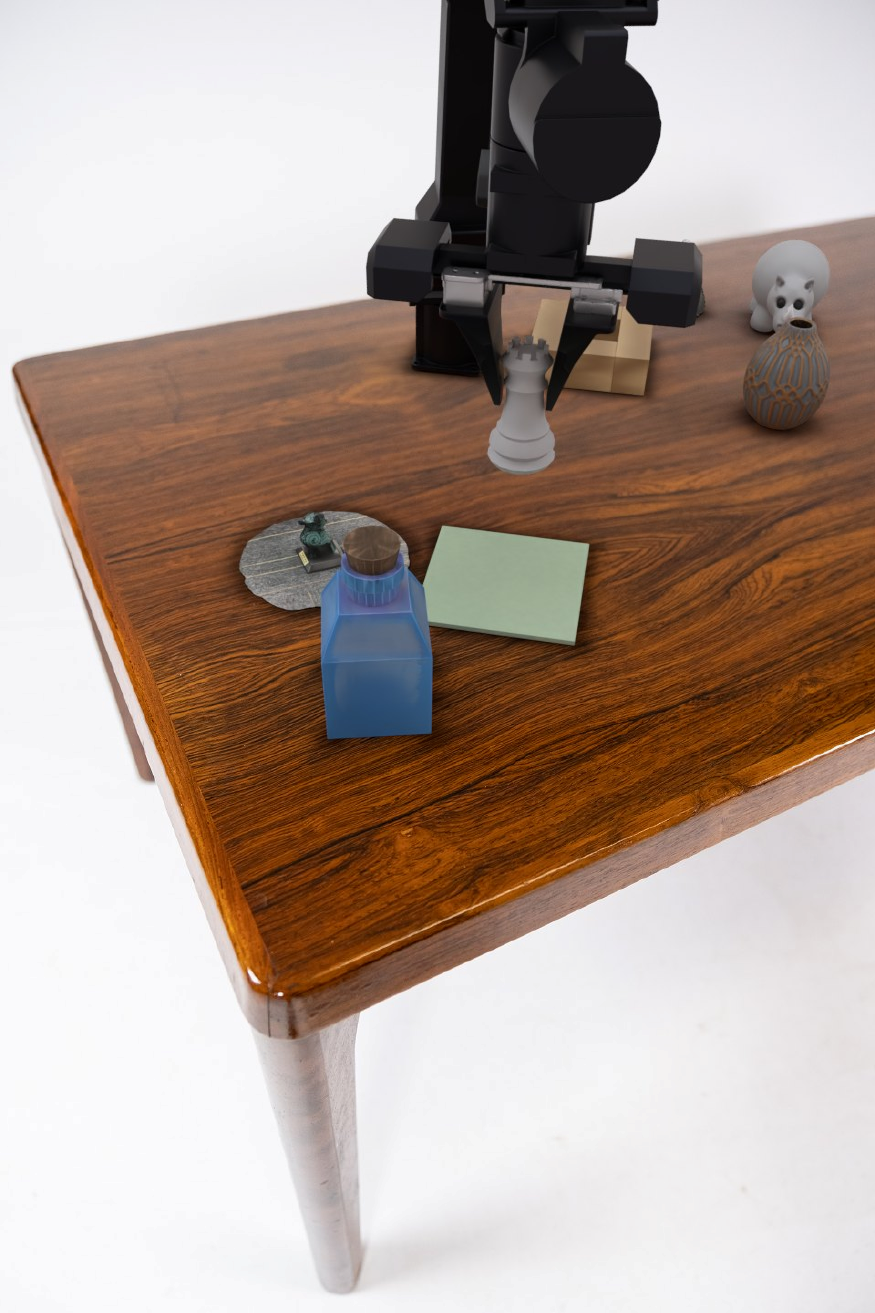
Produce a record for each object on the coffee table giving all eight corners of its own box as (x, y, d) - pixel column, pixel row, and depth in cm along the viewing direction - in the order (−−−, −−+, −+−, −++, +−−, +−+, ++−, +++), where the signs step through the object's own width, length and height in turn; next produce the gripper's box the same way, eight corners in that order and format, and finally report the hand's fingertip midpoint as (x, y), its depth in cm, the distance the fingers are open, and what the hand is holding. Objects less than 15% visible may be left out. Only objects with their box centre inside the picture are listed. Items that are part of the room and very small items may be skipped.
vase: (819, 443, 86) (849, 345, 80) (736, 433, 87) (759, 336, 81) (813, 403, 91) (841, 309, 85) (735, 395, 92) (757, 301, 86)
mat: (411, 623, 68) (411, 618, 68) (442, 529, 76) (442, 525, 76) (574, 646, 67) (575, 641, 66) (588, 548, 75) (589, 543, 74)
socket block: (525, 383, 93) (527, 347, 91) (539, 332, 101) (542, 298, 98) (643, 395, 92) (649, 359, 89) (648, 343, 99) (654, 308, 97)
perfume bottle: (327, 667, 65) (314, 511, 57) (423, 663, 65) (424, 507, 57) (327, 738, 60) (313, 580, 52) (431, 733, 61) (433, 575, 53)
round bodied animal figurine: (736, 358, 97) (756, 270, 92) (744, 307, 106) (763, 224, 100) (813, 369, 96) (838, 280, 90) (815, 317, 104) (839, 233, 99)
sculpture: (206, 573, 72) (245, 467, 72) (284, 592, 80) (320, 497, 79) (332, 633, 67) (375, 519, 66) (402, 646, 75) (442, 545, 74)
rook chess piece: (561, 448, 68) (572, 334, 62) (545, 483, 65) (555, 366, 59) (497, 437, 69) (503, 324, 63) (478, 470, 66) (482, 355, 60)
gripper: (722, 108, 58) (676, 362, 69) (404, 87, 61) (407, 335, 71) (725, 169, 50) (672, 446, 61) (358, 142, 52) (368, 413, 63)
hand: (524, 405), depth 64 cm, fingers closed on rook chess piece, 3 cm apart
